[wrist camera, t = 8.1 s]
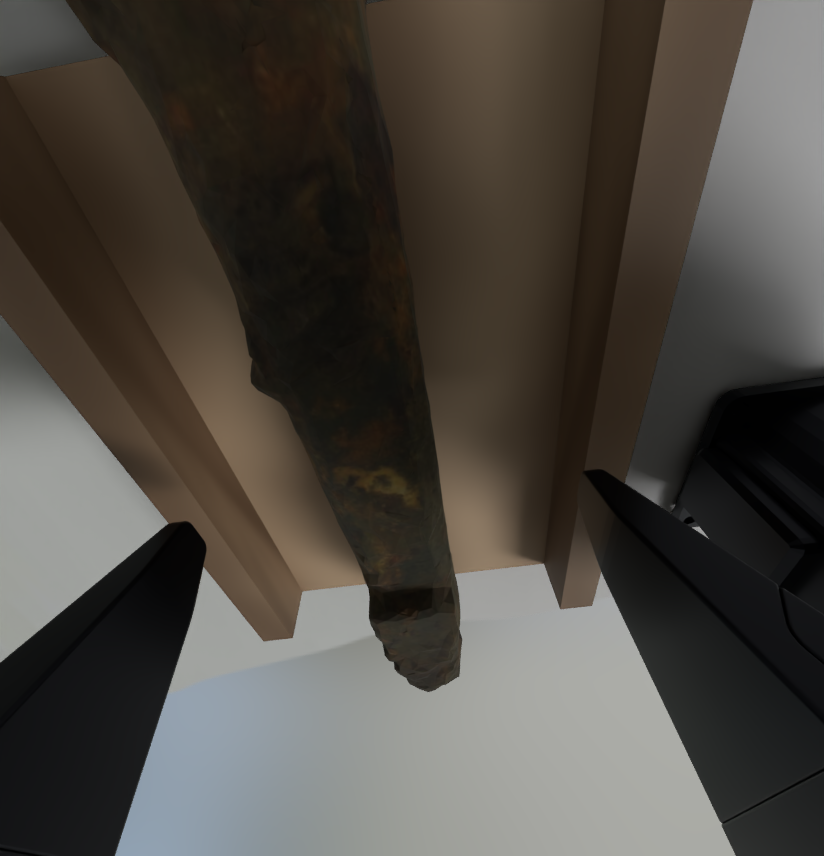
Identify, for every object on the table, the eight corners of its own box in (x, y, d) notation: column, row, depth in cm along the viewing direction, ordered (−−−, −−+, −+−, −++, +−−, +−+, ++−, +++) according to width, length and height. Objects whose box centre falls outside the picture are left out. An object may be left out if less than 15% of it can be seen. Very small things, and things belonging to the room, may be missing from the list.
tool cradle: (651, -36, 7) (788, -133, 5) (564, 540, 17) (591, 605, 15) (-10, 94, 8) (-196, 71, 5) (281, 574, 18) (263, 641, 15)
